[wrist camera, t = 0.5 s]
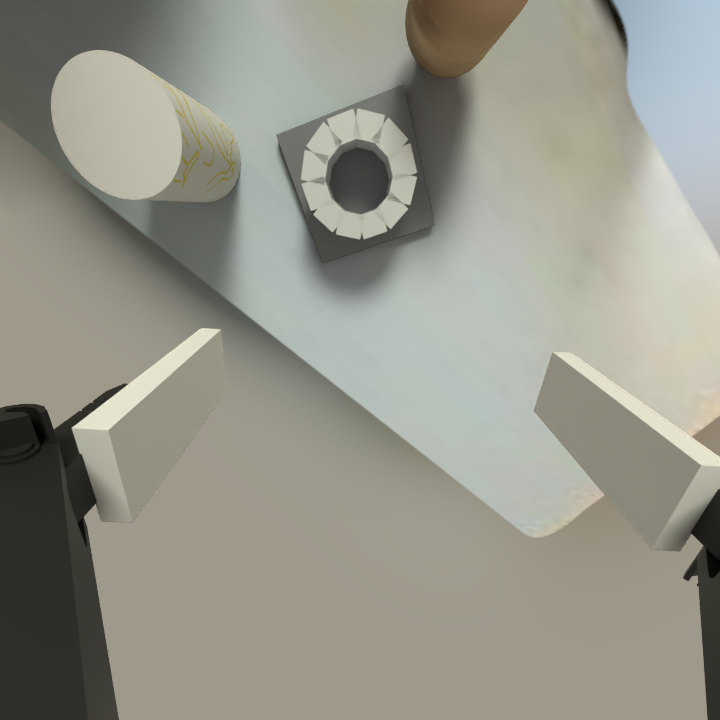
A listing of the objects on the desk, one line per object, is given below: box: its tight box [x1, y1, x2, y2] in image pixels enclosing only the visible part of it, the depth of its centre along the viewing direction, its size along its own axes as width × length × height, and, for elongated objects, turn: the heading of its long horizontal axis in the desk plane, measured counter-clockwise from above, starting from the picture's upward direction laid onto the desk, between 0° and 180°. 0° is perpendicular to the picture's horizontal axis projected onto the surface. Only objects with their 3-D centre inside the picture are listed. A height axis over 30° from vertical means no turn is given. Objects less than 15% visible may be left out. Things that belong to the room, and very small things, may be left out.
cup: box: [51, 50, 241, 202], centre depth 28 cm, size 8×8×12 cm
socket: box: [277, 85, 435, 263], centre depth 32 cm, size 12×12×6 cm
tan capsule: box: [405, 0, 528, 78], centre depth 25 cm, size 7×7×11 cm
